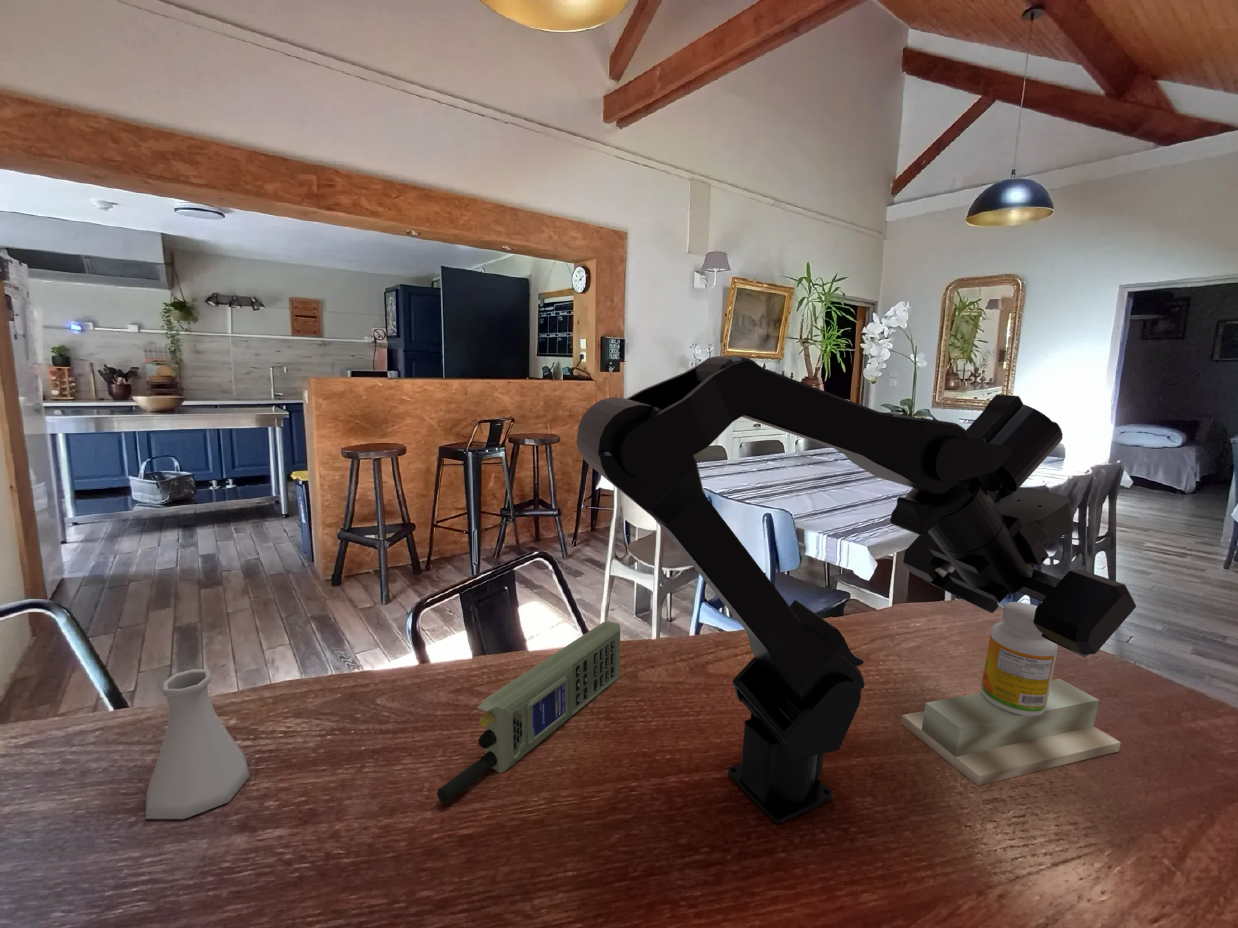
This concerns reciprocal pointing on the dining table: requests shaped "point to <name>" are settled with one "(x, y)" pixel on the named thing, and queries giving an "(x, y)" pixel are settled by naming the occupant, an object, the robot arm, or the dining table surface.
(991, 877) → the dining table surface
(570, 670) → the handheld radio
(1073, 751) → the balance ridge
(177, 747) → the flask
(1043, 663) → the supplement bottle
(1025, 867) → the dining table surface
